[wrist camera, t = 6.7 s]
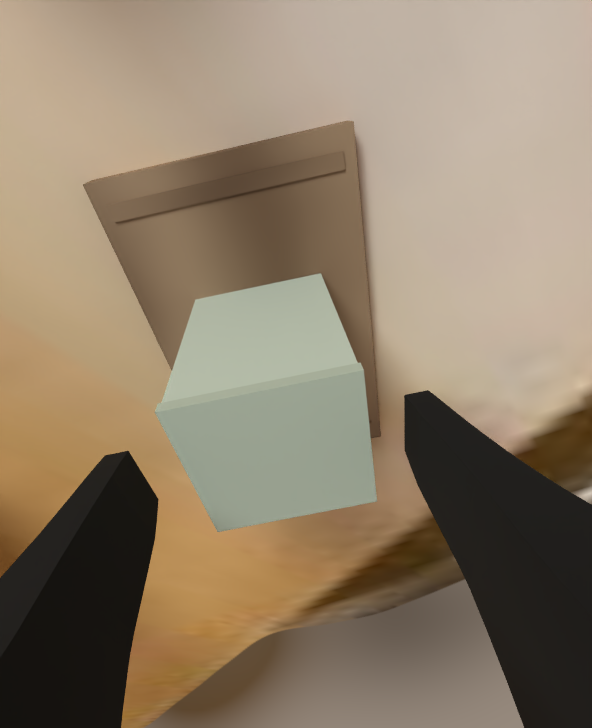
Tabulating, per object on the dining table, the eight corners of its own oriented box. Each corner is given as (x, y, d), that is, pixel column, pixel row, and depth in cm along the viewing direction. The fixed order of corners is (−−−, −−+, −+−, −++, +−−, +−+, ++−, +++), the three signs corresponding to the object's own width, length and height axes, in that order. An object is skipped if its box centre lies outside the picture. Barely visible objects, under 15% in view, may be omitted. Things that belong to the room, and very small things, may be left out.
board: (221, 447, 20) (219, 472, 18) (99, 176, 12) (81, 185, 11) (372, 415, 19) (381, 437, 18) (342, 119, 12) (354, 121, 11)
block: (229, 398, 16) (217, 531, 11) (193, 298, 13) (154, 412, 8) (337, 376, 16) (377, 501, 11) (321, 271, 13) (363, 370, 8)
